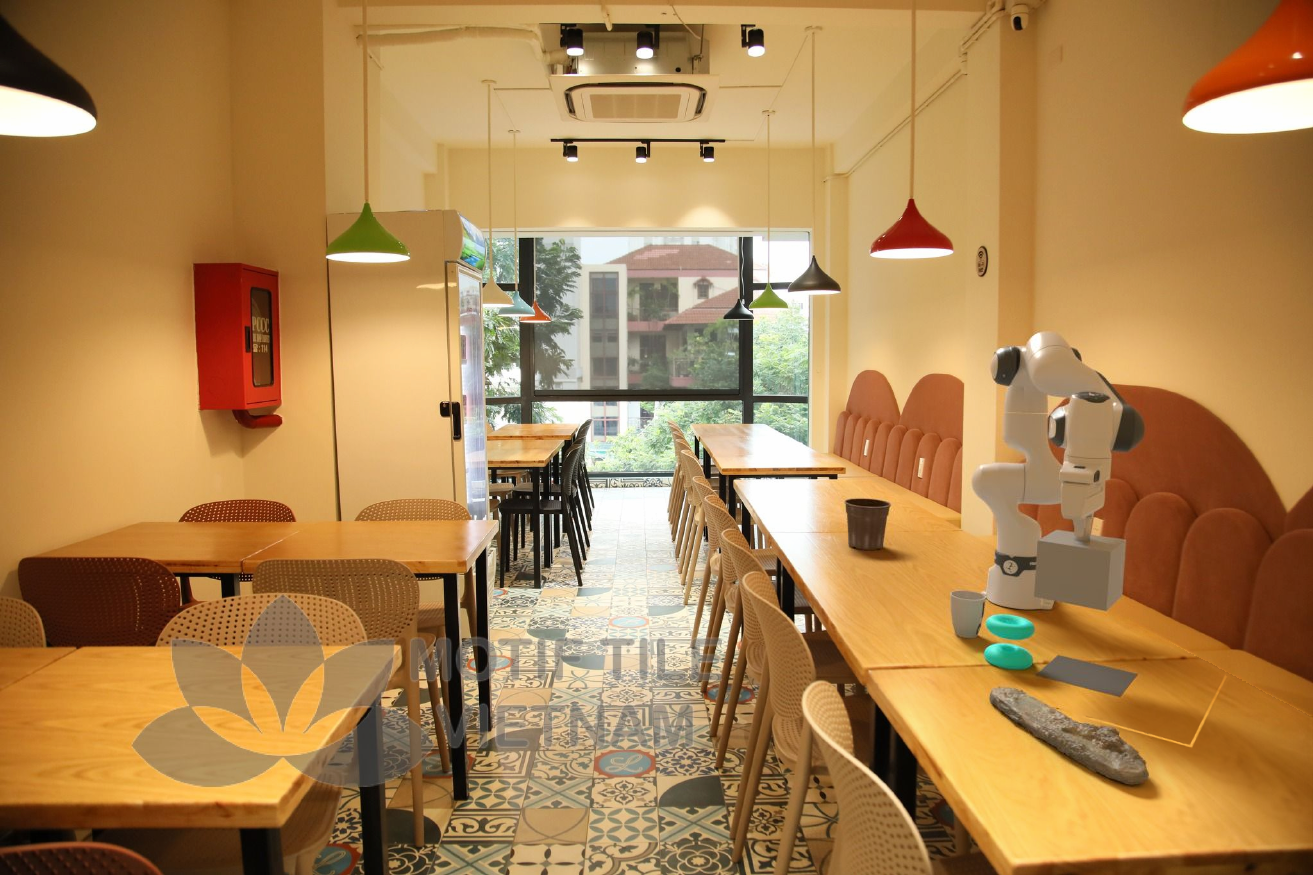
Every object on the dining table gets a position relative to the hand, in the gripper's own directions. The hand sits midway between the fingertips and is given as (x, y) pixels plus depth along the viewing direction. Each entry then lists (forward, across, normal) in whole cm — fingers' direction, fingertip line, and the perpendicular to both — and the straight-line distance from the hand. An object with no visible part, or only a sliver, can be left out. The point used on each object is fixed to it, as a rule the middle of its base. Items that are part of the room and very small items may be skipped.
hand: (1082, 534), depth 170 cm
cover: (+14, 0, 0) cm, 14 cm away
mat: (+31, 0, +3) cm, 31 cm away
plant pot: (+32, -77, -87) cm, 120 cm away
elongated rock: (+31, +34, +6) cm, 46 cm away
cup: (+31, -9, -26) cm, 42 cm away
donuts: (+31, +4, -12) cm, 34 cm away
